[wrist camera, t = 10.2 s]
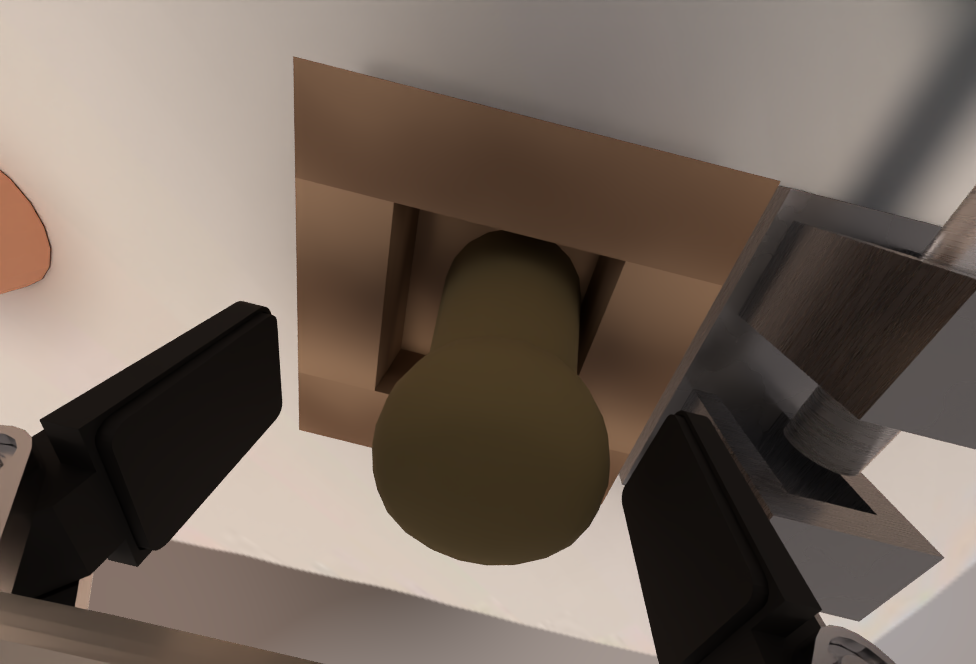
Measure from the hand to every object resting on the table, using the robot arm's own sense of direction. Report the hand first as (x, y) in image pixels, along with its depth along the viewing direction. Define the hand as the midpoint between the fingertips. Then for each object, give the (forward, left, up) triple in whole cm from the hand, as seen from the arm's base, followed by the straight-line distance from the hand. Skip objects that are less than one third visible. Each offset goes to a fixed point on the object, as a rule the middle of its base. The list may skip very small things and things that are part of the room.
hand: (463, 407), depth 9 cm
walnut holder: (+1, 0, -10) cm, 10 cm away
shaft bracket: (+2, +13, -10) cm, 16 cm away
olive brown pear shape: (0, +1, -9) cm, 9 cm away
